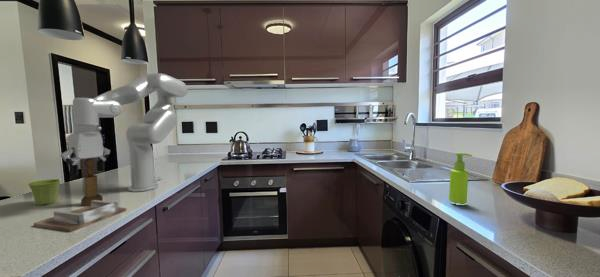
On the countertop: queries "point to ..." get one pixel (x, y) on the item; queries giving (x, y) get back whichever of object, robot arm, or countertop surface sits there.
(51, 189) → the plant pot
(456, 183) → the soap dispenser
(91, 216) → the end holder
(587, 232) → the countertop surface
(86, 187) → the wooden chess pawn
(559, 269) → the countertop surface
